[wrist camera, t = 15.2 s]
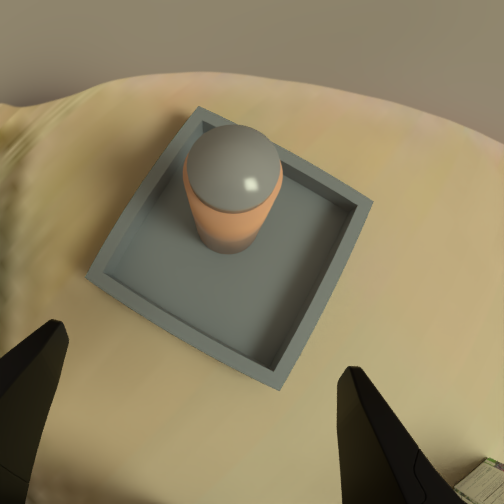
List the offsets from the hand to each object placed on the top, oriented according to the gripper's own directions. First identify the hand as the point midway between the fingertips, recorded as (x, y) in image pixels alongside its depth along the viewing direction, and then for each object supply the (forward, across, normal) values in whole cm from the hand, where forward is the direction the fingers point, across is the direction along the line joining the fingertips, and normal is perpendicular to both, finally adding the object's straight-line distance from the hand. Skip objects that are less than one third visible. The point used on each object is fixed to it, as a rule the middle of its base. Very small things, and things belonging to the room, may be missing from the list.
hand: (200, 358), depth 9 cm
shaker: (+14, 0, +4) cm, 15 cm away
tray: (+14, -1, +5) cm, 15 cm away
